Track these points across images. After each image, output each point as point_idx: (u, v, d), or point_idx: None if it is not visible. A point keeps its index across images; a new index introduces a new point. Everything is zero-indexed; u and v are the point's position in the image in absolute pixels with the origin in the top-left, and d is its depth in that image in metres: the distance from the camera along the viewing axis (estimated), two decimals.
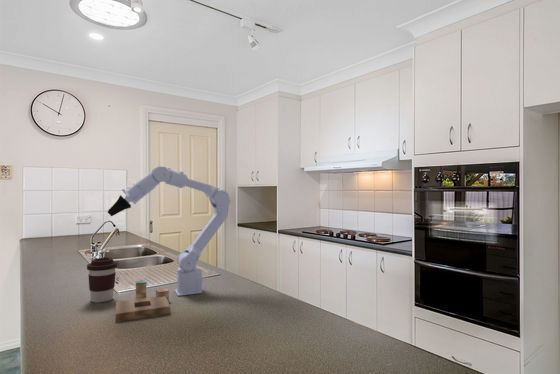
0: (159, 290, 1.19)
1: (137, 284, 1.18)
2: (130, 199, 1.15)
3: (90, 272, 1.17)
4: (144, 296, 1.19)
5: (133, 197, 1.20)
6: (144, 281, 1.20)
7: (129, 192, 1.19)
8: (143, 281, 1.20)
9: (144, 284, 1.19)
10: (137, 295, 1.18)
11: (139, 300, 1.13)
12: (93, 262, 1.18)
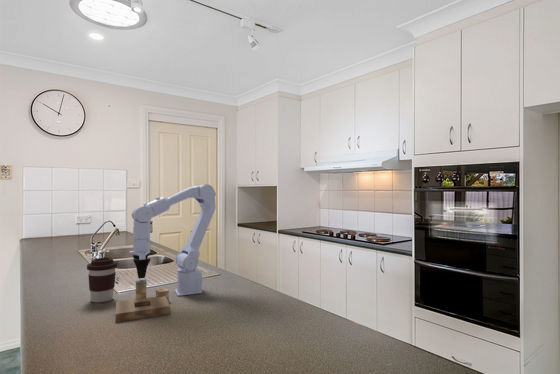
0: (159, 290, 1.19)
1: (137, 284, 1.18)
2: (143, 256, 1.14)
3: (90, 272, 1.17)
4: (144, 296, 1.19)
5: (143, 250, 1.18)
6: (144, 281, 1.20)
7: (136, 250, 1.18)
8: (143, 281, 1.20)
9: (144, 284, 1.19)
10: (137, 295, 1.18)
11: (139, 300, 1.13)
12: (93, 262, 1.18)
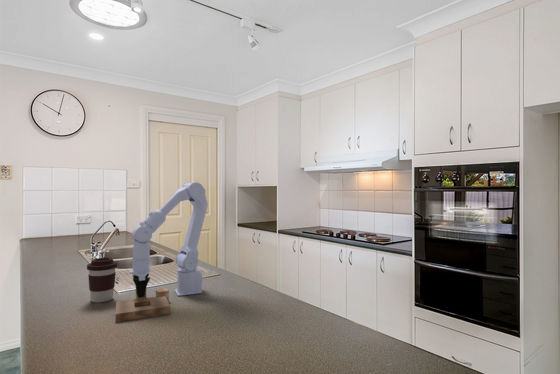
0: (159, 290, 1.19)
1: None
2: (143, 276, 1.14)
3: (90, 272, 1.17)
4: (144, 296, 1.19)
5: (143, 270, 1.18)
6: None
7: (136, 270, 1.18)
8: None
9: None
10: (137, 295, 1.18)
11: (139, 300, 1.13)
12: (93, 262, 1.18)
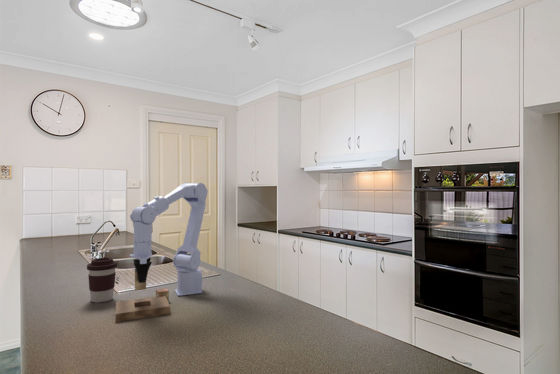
0: (159, 290, 1.19)
1: (136, 271, 1.10)
2: (144, 260, 1.06)
3: (90, 272, 1.17)
4: (144, 283, 1.11)
5: (144, 253, 1.10)
6: None
7: (137, 253, 1.10)
8: None
9: None
10: (136, 282, 1.10)
11: (139, 300, 1.13)
12: (93, 262, 1.18)
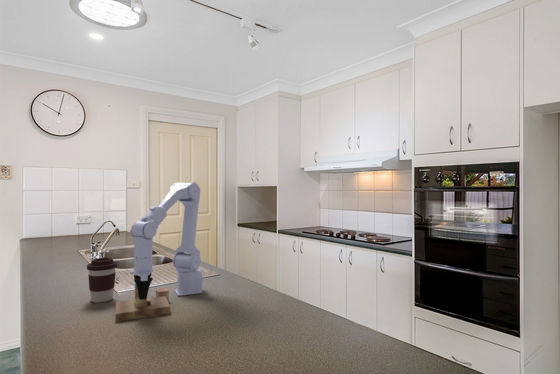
0: (159, 290, 1.19)
1: (136, 287, 1.07)
2: (145, 276, 1.03)
3: (90, 272, 1.17)
4: (144, 300, 1.08)
5: (145, 269, 1.07)
6: None
7: (138, 269, 1.07)
8: None
9: None
10: (136, 299, 1.07)
11: None
12: (93, 262, 1.18)
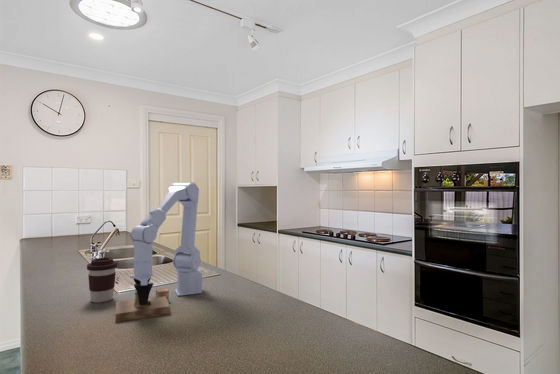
0: (159, 290, 1.19)
1: (137, 294, 1.07)
2: (145, 281, 1.03)
3: (90, 272, 1.17)
4: None
5: (145, 274, 1.07)
6: None
7: (138, 273, 1.07)
8: None
9: None
10: (137, 306, 1.07)
11: None
12: (93, 262, 1.18)
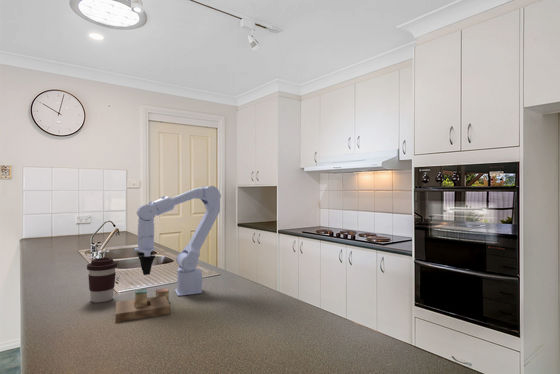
0: (159, 290, 1.19)
1: (137, 294, 1.07)
2: (148, 252, 1.16)
3: (90, 272, 1.17)
4: None
5: (148, 247, 1.20)
6: (144, 290, 1.09)
7: (141, 247, 1.20)
8: (143, 290, 1.09)
9: (144, 294, 1.08)
10: (137, 306, 1.07)
11: None
12: (93, 262, 1.18)
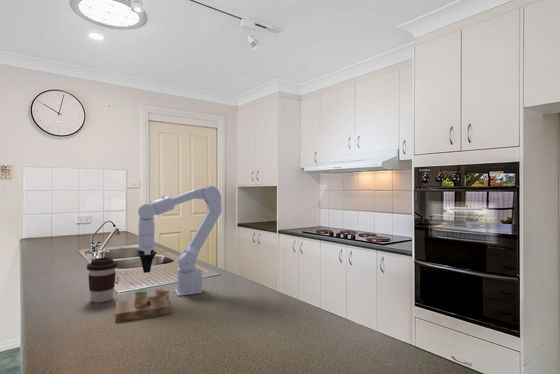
0: (159, 290, 1.19)
1: (137, 294, 1.07)
2: (148, 251, 1.19)
3: (90, 272, 1.17)
4: None
5: (148, 246, 1.24)
6: (144, 290, 1.09)
7: (142, 245, 1.23)
8: (143, 290, 1.09)
9: (144, 294, 1.08)
10: (137, 306, 1.07)
11: None
12: (93, 262, 1.18)
